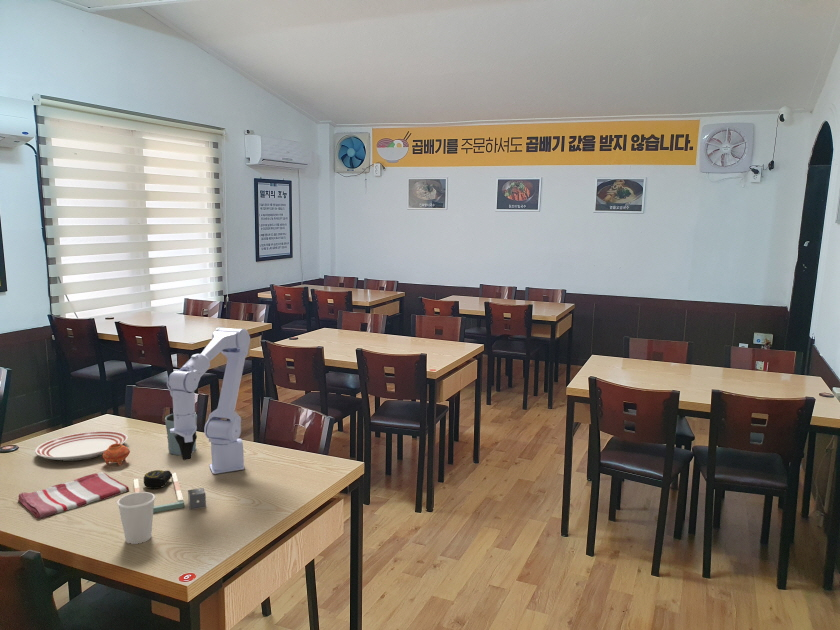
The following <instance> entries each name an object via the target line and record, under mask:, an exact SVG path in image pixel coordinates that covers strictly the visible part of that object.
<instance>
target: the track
mask: <svg viewBox="0 0 840 630" xmlns="http://www.w3.org/2000/svg"><path fill="white" fill-rule="evenodd" d="M171 474H172V477H171V481H172V484H173V488H174V492H175V494H176V499H177V501H176V502H172V503H165V504H160V505H154V508H153V514H154V513H159V512H165V511H170V510H176V509H180V508H185V501H184V498H183V494H182V491H181V486H180V483H179V480H178V476H177V473H176V472H171ZM133 489H134V493H137V492H141V491H140V484H139V478H134V479H133Z"/></svg>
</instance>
